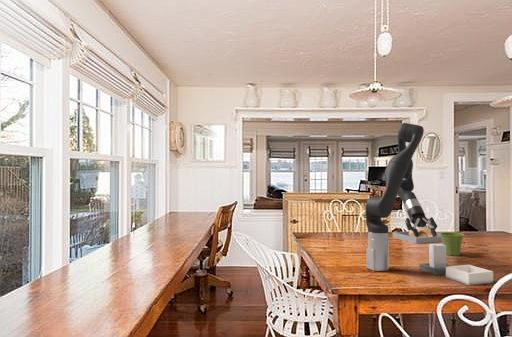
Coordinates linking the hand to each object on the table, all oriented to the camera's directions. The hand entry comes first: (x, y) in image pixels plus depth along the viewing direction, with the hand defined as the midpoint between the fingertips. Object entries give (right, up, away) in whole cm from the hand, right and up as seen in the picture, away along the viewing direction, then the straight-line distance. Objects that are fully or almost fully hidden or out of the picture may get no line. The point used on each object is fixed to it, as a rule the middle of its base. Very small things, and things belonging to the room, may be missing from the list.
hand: (426, 236), depth 193 cm
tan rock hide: (+27, -15, +70) cm, 77 cm away
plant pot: (+24, -14, +25) cm, 38 cm away
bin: (+7, -14, -24) cm, 29 cm away
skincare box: (+1, -14, -10) cm, 17 cm away
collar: (+1, -14, -10) cm, 17 cm away
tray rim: (+26, -14, +73) cm, 79 cm away
